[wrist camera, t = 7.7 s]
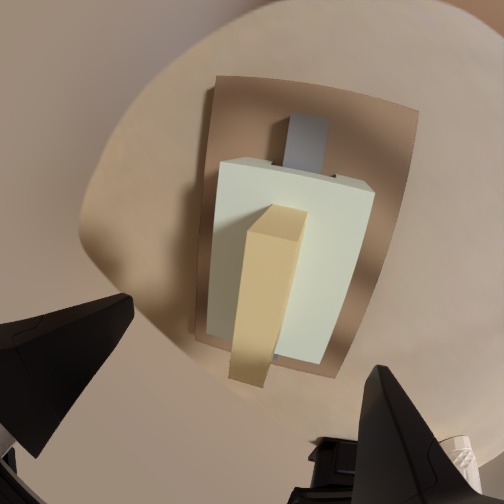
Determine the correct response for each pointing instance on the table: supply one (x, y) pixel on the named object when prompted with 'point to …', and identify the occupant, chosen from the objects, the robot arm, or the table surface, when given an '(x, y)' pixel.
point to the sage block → (281, 261)
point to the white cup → (463, 459)
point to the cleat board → (349, 155)
